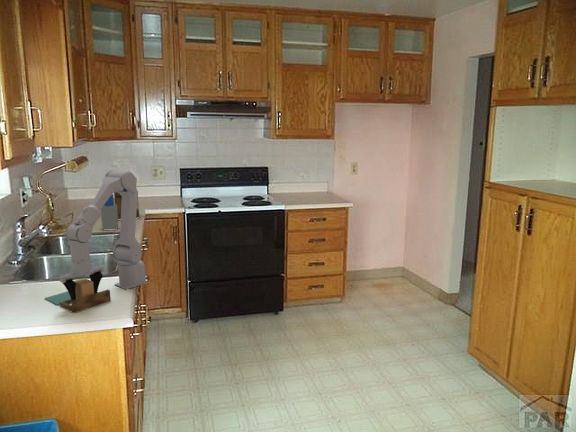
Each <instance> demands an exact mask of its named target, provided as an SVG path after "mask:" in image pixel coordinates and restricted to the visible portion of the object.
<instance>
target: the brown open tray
mask: <svg viewBox="0 0 576 432" xmlns="http://www.w3.org/2000/svg"><path fill="white" fill-rule="evenodd" d="M108 302H109V303H110V302H111V290H110V289H105V290H101V291H98V292H97V293H95V294H91V295H88V296H85V297H82V298H78V299H75V300H71V299H69V300H66V301H62V302H59V305H58V306H59V307H62V309H65V310H67V311H69V312H71V313H73V314H76V313H78V312H81V311H85V310H87V309H90V308H93V307H96V306H100V305H103V304H106V303H108Z"/></svg>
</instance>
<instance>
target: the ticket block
mask: <svg viewBox="0 0 576 432" xmlns="http://www.w3.org/2000/svg"><path fill="white" fill-rule="evenodd" d="M73 281H74V282H75V283H76V289H75V292H76V299H78V298H82V297H85V296H88V295H91V294H94V286H93V281H91V280H90V279H87V278H84V277H82V278H80V279H79V278H78V279H74V280H73Z"/></svg>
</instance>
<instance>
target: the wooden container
mask: <svg viewBox="0 0 576 432" xmlns="http://www.w3.org/2000/svg"><path fill="white" fill-rule="evenodd" d="M113 197H114V204H116V205H117V213H118V219H121V205H122V196H121V195H120V194H119V193H118V192H115V193H113ZM137 217H139V218H140V207H139V192H138V190H137V211H136V218H137Z"/></svg>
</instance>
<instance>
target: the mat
mask: <svg viewBox="0 0 576 432" xmlns="http://www.w3.org/2000/svg"><path fill="white" fill-rule="evenodd" d="M69 299H71V297H70V295H69V292H68V290H66V291H65V292H61V293H58V294H54V295H51V296H47V297H44V300H46V301H47V302H50V304H53V305H55V306H60V305H59V302H62V301H66V300H69Z"/></svg>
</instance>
